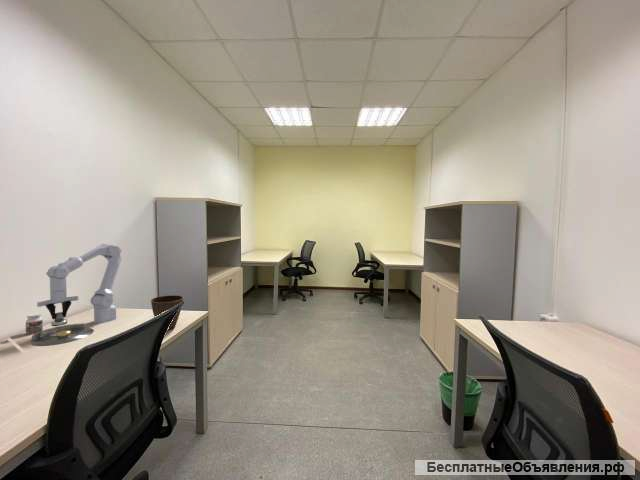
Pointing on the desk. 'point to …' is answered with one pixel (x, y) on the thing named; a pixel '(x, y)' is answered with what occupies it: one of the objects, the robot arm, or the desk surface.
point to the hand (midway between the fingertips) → (59, 317)
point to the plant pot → (166, 306)
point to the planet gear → (59, 319)
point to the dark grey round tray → (60, 335)
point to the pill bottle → (34, 323)
